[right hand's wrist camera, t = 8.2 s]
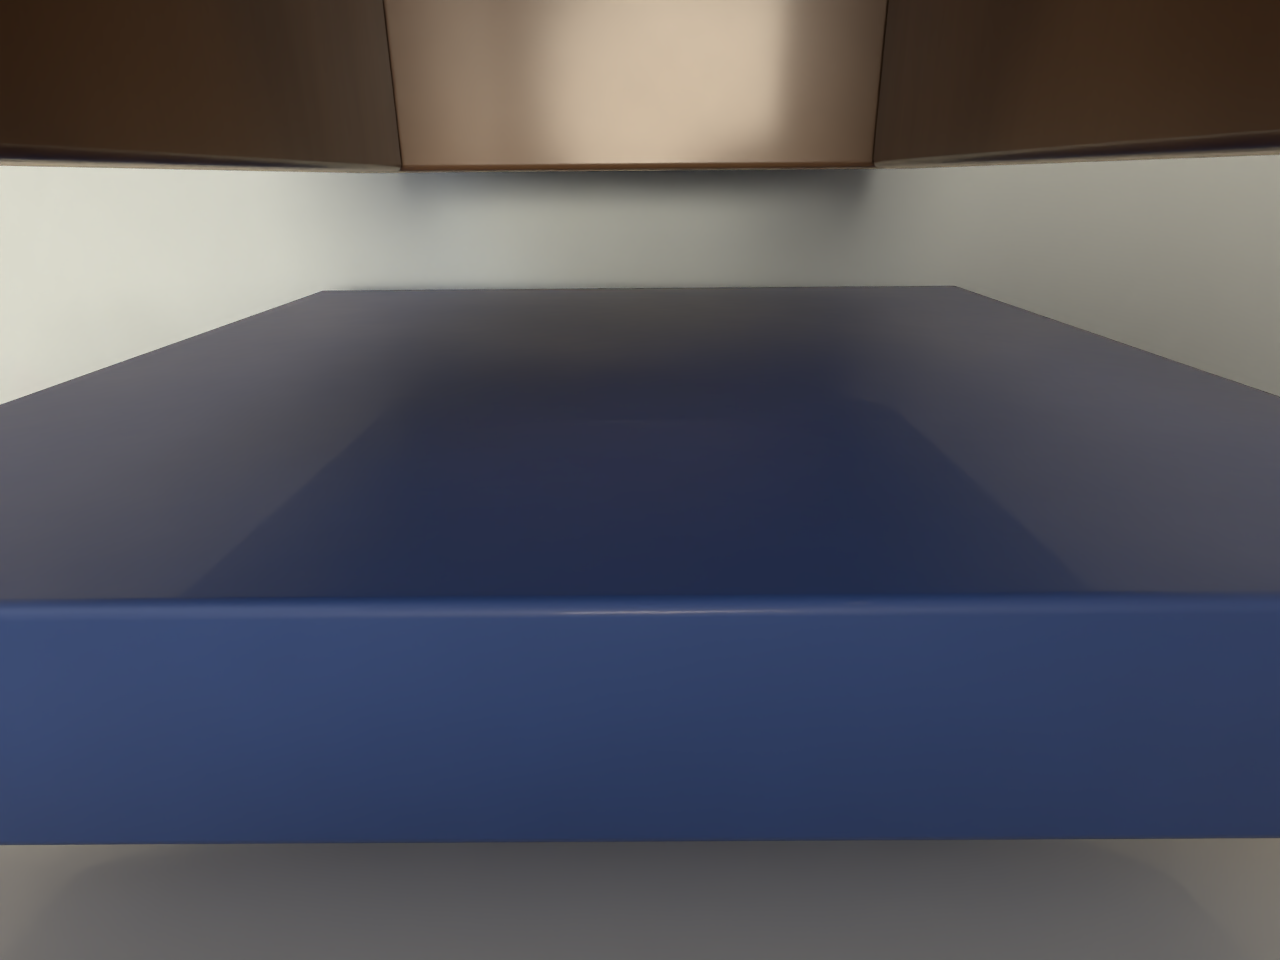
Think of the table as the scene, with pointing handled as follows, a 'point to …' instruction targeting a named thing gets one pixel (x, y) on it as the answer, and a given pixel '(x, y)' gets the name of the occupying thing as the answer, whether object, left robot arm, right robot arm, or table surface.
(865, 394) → the drawer
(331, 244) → the table surface
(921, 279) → the table surface
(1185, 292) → the table surface
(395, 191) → the table surface
